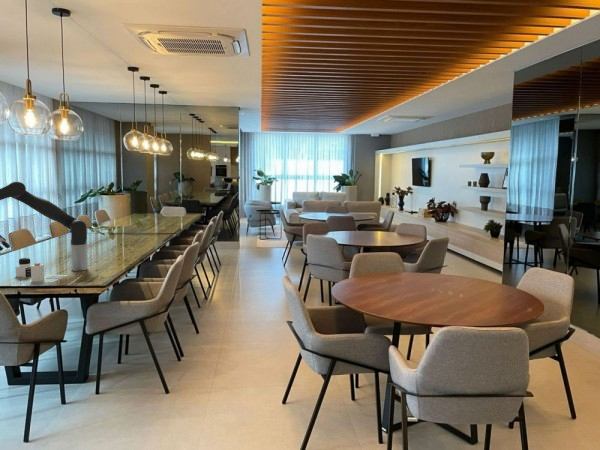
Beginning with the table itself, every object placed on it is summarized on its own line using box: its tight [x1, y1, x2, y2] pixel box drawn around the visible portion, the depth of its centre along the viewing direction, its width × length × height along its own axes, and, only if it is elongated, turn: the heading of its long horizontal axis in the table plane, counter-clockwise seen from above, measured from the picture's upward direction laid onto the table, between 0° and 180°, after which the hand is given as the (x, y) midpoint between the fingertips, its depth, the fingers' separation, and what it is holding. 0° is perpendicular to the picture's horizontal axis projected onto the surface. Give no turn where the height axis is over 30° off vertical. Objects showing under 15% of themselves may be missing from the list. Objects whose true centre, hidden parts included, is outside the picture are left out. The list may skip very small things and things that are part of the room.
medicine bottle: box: [15, 257, 33, 278], centre depth 283 cm, size 7×7×12 cm
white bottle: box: [30, 262, 45, 281], centre depth 272 cm, size 5×5×10 cm
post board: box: [26, 273, 69, 283], centre depth 278 cm, size 19×15×5 cm
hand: (5, 248), depth 267 cm, fingers open, 8 cm apart
